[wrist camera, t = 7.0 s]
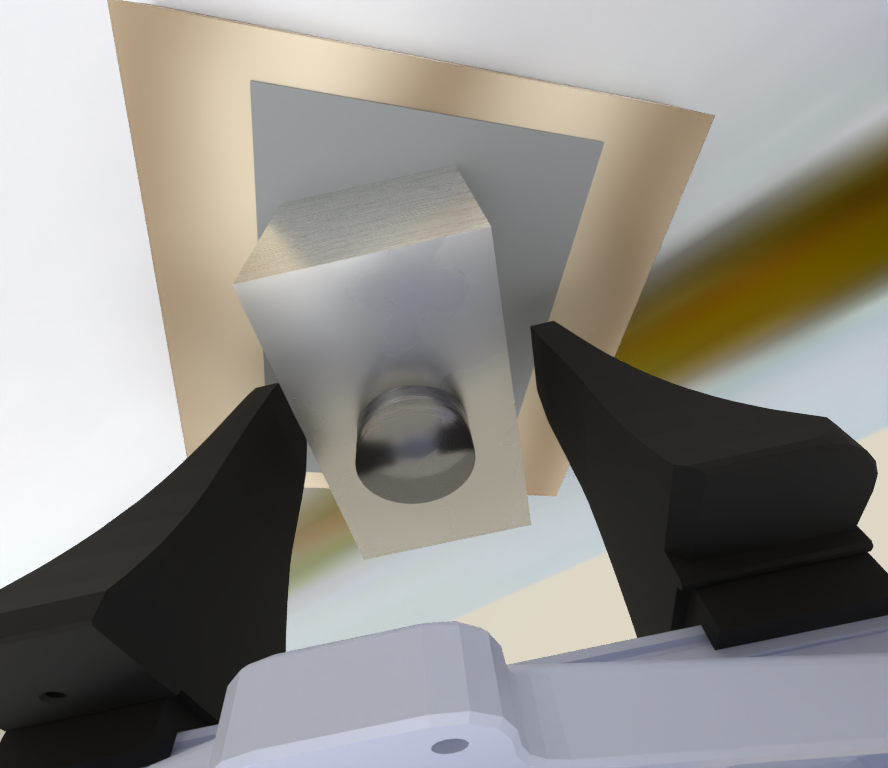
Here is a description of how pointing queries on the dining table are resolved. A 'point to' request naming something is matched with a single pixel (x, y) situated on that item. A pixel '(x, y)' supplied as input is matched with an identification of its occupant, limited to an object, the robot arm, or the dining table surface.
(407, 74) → the stand
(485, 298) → the housing
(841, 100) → the dining table surface
